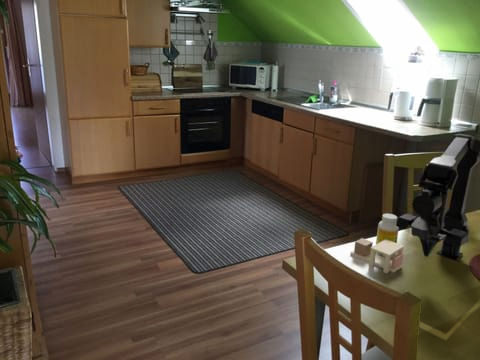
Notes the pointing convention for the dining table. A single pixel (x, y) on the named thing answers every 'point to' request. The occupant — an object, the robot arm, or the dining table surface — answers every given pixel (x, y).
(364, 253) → the sled
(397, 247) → the small table
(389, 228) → the supplement bottle
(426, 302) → the dining table surface
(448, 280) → the dining table surface
